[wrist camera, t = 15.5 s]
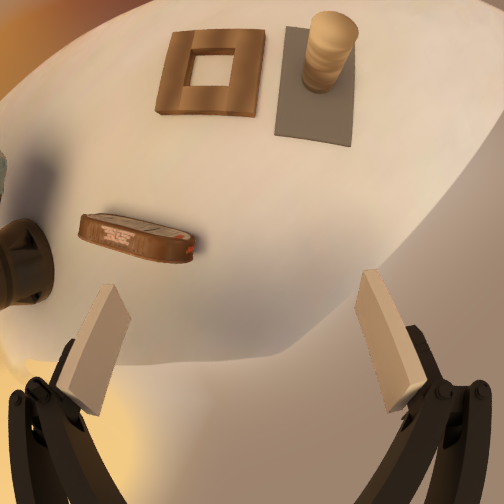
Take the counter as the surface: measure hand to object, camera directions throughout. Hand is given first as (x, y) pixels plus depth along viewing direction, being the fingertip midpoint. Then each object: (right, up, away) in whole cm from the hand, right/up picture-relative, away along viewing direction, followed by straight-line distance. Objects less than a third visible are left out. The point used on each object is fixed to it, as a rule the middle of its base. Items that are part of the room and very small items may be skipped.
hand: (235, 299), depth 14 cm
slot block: (-4, +25, +15) cm, 29 cm away
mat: (+9, +23, +14) cm, 29 cm away
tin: (-12, +5, +20) cm, 24 cm away
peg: (+9, +23, +14) cm, 28 cm away
